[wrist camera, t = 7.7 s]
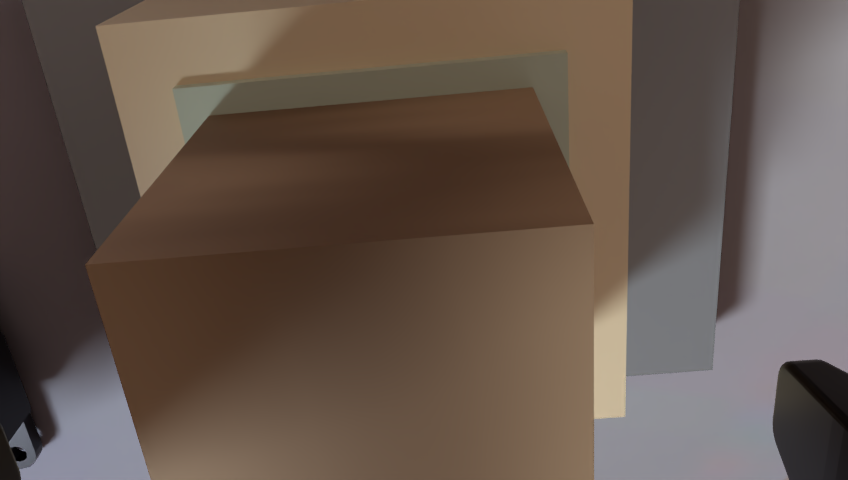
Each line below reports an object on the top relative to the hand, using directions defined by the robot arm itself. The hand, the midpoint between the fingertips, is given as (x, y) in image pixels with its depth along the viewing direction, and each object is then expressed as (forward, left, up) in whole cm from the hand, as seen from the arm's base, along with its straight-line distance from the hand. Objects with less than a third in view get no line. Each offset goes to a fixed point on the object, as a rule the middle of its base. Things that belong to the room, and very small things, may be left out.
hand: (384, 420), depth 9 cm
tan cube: (0, 0, -5) cm, 5 cm away
